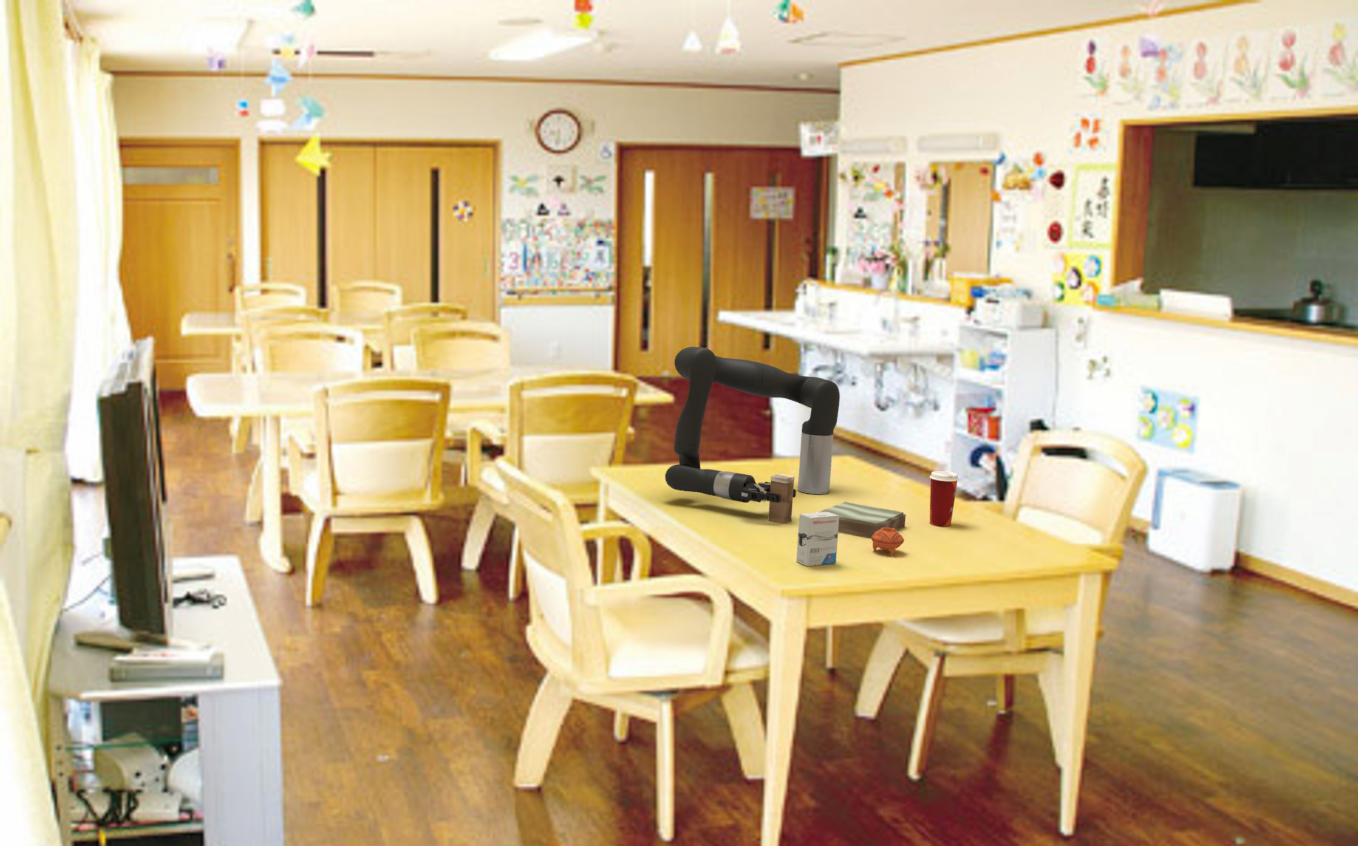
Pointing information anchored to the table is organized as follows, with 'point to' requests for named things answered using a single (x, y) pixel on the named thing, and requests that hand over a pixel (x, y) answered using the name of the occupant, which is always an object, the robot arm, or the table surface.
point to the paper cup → (942, 497)
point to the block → (784, 508)
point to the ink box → (817, 538)
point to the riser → (865, 519)
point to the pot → (887, 539)
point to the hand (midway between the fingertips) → (787, 496)
